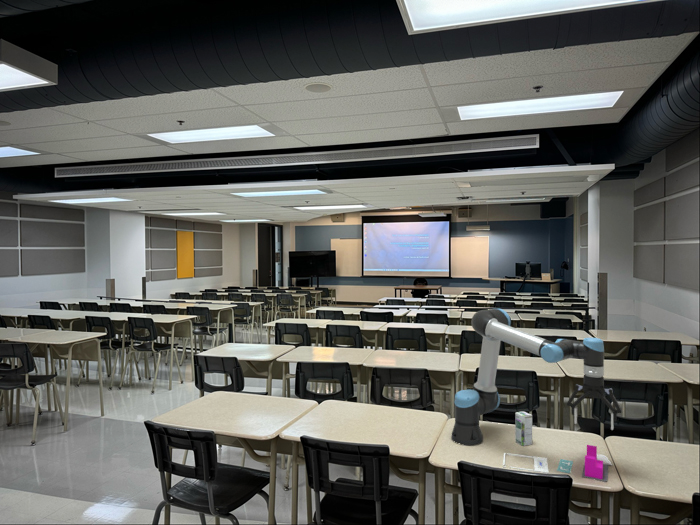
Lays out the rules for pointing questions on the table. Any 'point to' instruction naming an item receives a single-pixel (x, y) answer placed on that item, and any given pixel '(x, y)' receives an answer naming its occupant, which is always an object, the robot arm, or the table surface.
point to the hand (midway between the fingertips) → (593, 425)
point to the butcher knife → (603, 459)
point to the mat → (605, 473)
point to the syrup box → (523, 428)
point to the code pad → (565, 466)
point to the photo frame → (539, 463)
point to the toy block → (593, 463)
